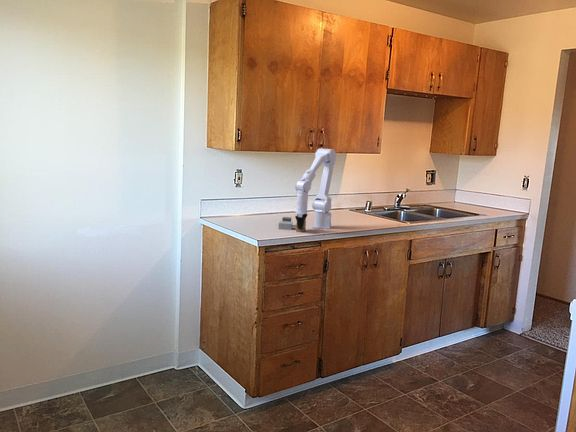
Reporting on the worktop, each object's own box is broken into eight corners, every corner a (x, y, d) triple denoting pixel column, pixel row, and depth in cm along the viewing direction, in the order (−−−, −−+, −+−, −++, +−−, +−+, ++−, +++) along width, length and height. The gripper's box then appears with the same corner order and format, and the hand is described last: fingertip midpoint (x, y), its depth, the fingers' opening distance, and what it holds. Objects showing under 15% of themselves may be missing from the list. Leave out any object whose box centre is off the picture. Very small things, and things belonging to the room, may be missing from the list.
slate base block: (292, 227, 272) (292, 221, 271) (291, 230, 265) (291, 224, 264) (279, 227, 272) (280, 221, 272) (278, 229, 265) (278, 223, 265)
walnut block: (305, 230, 265) (305, 220, 264) (304, 232, 260) (305, 221, 260) (297, 229, 265) (297, 219, 265) (296, 231, 261) (296, 221, 260)
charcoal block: (291, 225, 278) (291, 217, 278) (290, 226, 274) (290, 218, 273) (283, 224, 279) (283, 216, 278) (282, 226, 274) (282, 218, 274)
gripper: (296, 201, 268) (295, 225, 270) (292, 204, 254) (291, 230, 256) (309, 201, 267) (307, 226, 269) (306, 205, 253) (305, 231, 255)
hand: (300, 228), depth 263 cm, fingers open, 6 cm apart
